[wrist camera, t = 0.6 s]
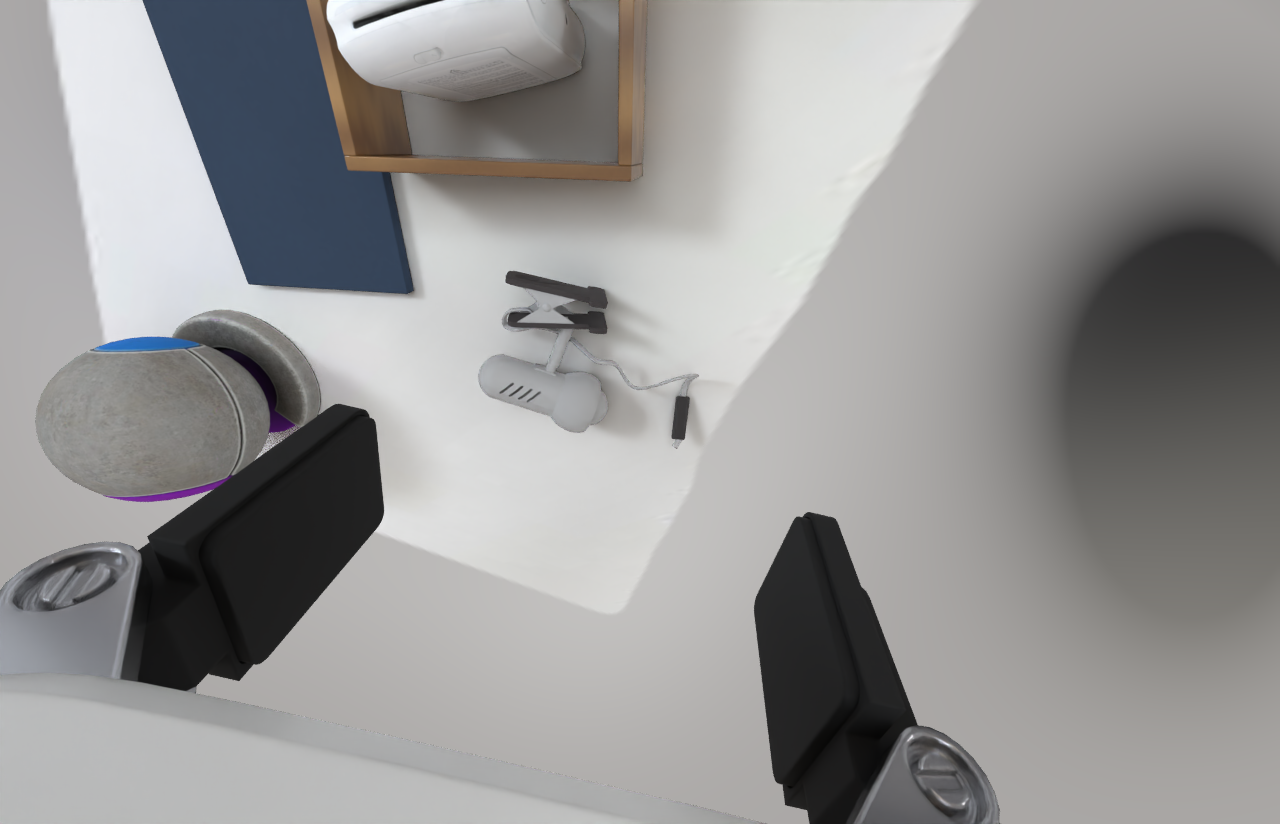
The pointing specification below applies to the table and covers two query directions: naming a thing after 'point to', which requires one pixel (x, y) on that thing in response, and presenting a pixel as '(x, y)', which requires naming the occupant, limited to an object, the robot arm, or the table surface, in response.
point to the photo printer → (458, 44)
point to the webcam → (174, 407)
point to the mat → (278, 147)
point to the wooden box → (384, 146)
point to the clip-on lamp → (543, 388)
